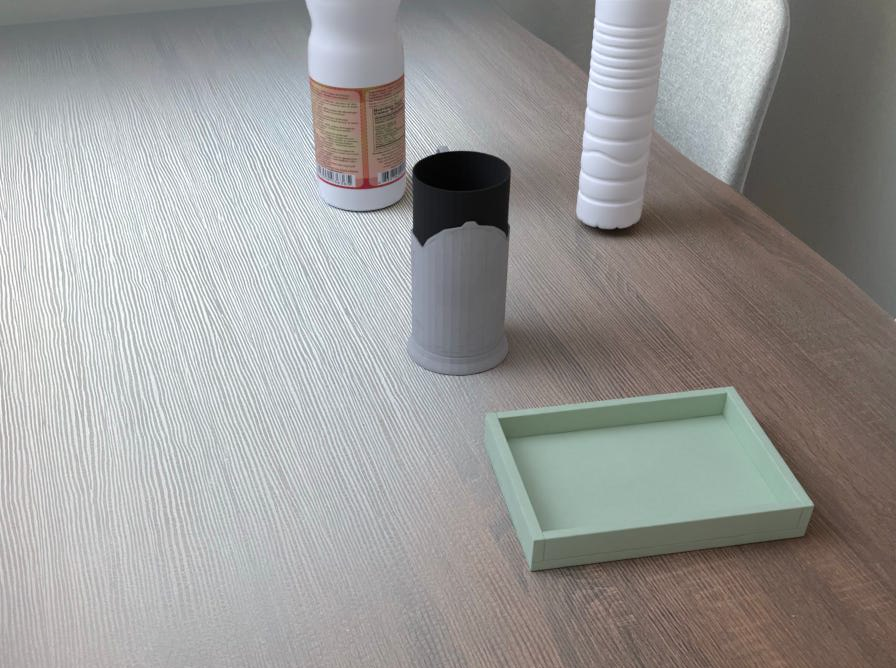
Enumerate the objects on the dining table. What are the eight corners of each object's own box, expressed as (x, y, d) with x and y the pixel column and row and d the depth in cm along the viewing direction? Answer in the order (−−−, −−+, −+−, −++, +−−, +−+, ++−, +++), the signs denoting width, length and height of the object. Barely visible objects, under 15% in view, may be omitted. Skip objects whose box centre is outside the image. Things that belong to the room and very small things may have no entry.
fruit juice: (317, 214, 106) (291, -116, 85) (318, 176, 112) (294, -140, 92) (408, 212, 106) (403, -118, 86) (404, 173, 113) (399, -142, 92)
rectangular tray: (725, 416, 81) (733, 385, 79) (804, 536, 71) (815, 505, 69) (483, 443, 79) (485, 413, 77) (530, 571, 69) (533, 540, 67)
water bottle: (640, 232, 101) (682, -72, 83) (573, 228, 102) (601, -73, 84) (641, 195, 107) (681, -95, 89) (579, 192, 107) (605, -96, 90)
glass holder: (415, 379, 85) (413, 199, 74) (391, 295, 95) (386, 124, 84) (518, 369, 86) (531, 190, 75) (484, 286, 95) (491, 117, 84)
